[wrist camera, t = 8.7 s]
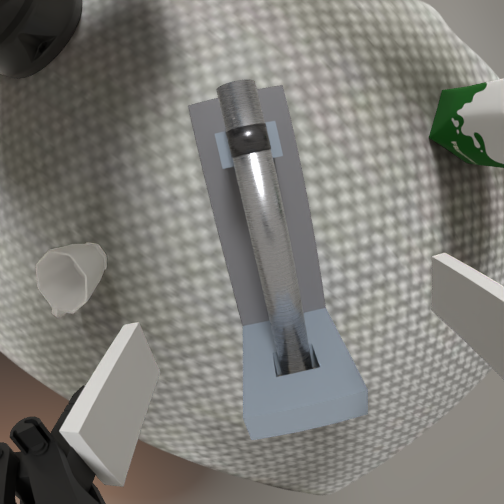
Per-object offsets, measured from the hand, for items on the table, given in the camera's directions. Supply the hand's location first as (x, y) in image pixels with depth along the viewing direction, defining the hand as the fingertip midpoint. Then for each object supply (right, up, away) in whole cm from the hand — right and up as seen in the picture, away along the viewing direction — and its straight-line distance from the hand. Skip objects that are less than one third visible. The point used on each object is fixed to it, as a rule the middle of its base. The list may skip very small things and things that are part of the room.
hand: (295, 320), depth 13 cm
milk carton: (+24, +19, +19) cm, 36 cm away
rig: (0, +3, +22) cm, 23 cm away
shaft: (0, +4, +14) cm, 14 cm away
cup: (-22, +1, +23) cm, 32 cm away
